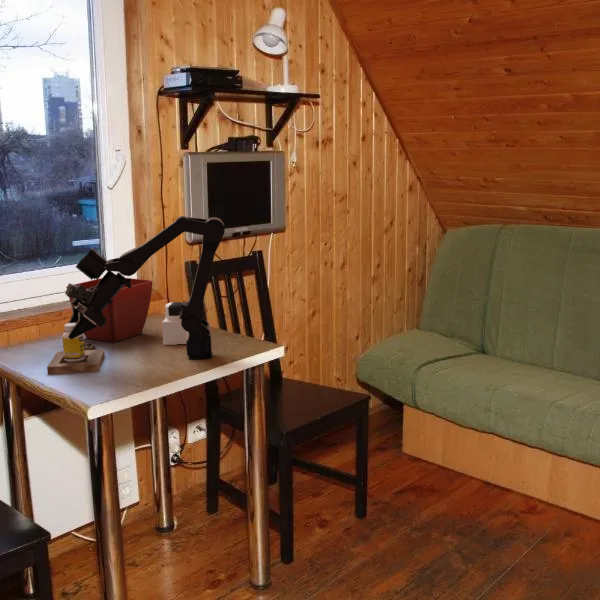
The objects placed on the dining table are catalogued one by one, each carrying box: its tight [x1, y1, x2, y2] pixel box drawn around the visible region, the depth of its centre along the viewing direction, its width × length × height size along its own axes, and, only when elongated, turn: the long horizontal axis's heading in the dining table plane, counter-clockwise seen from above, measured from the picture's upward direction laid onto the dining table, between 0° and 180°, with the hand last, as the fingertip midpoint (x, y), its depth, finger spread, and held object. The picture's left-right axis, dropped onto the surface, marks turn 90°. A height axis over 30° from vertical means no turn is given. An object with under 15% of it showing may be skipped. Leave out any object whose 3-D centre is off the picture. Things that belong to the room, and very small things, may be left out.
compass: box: [84, 342, 97, 350], centre depth 226 cm, size 8×8×7 cm
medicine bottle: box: [161, 301, 189, 346], centre depth 233 cm, size 7×7×12 cm
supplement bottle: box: [62, 322, 85, 362], centre depth 209 cm, size 5×5×10 cm
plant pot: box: [66, 277, 153, 343], centre depth 240 cm, size 19×19×17 cm
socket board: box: [46, 348, 106, 375], centre depth 212 cm, size 13×15×2 cm
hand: (67, 335), depth 208 cm, fingers closed on supplement bottle, 5 cm apart
